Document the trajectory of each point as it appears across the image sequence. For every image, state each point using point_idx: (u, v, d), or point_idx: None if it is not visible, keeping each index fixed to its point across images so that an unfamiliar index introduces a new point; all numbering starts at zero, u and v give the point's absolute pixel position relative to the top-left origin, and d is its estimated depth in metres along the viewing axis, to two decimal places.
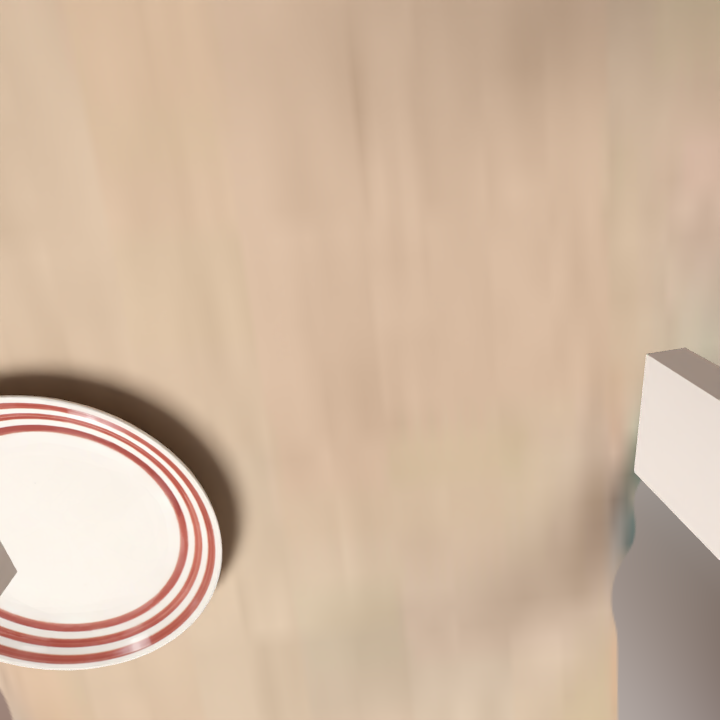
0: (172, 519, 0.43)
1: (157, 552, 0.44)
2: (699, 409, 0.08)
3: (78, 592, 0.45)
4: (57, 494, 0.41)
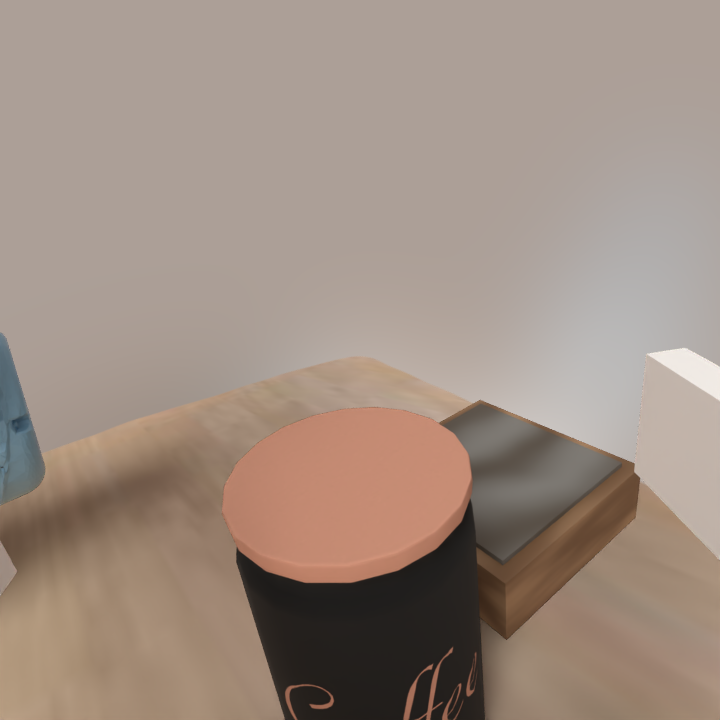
0: None
1: None
2: (699, 410, 0.08)
3: None
4: None
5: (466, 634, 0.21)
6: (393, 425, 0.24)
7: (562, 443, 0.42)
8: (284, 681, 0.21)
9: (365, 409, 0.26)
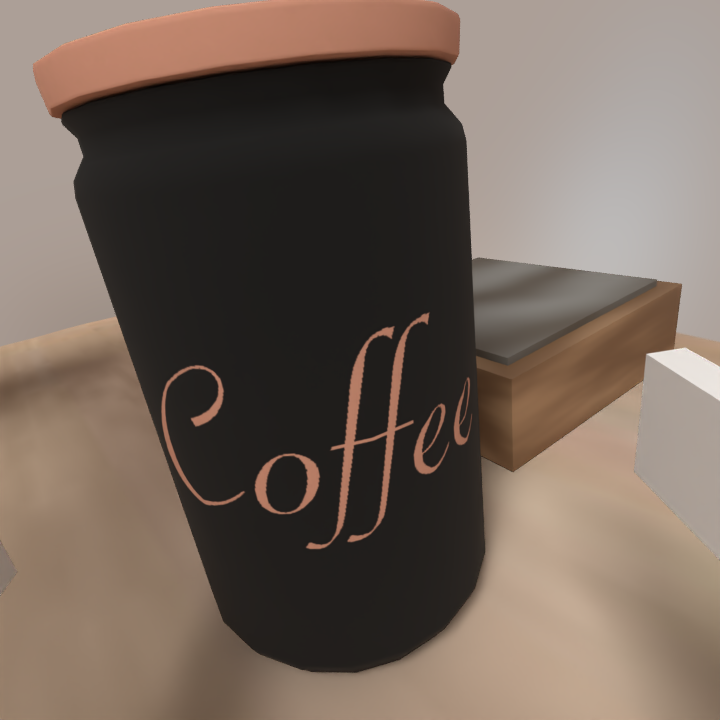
0: None
1: None
2: (699, 409, 0.08)
3: None
4: None
5: (452, 312, 0.13)
6: None
7: (579, 273, 0.34)
8: (156, 397, 0.13)
9: None
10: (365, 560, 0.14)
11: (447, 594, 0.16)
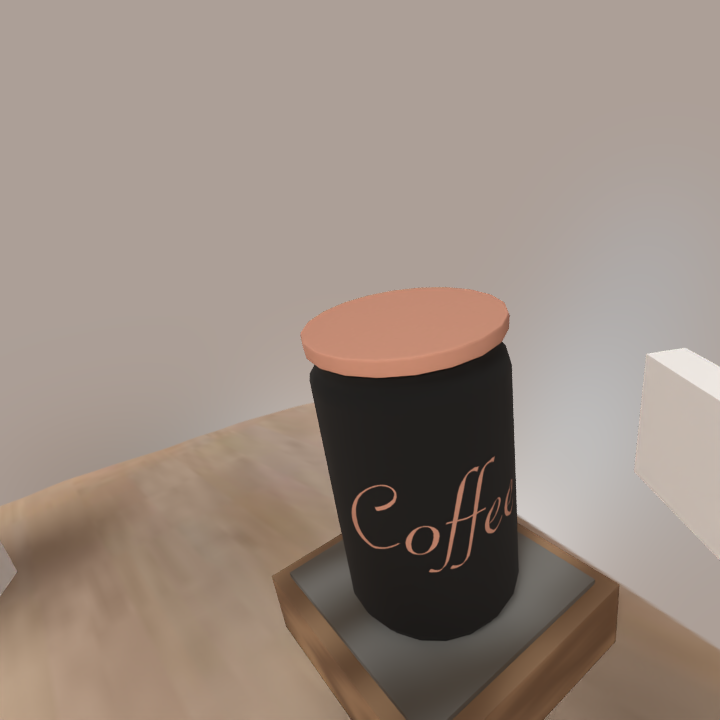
0: None
1: None
2: (699, 410, 0.08)
3: None
4: None
5: (505, 452, 0.25)
6: (438, 294, 0.28)
7: (524, 545, 0.34)
8: (352, 493, 0.26)
9: (412, 289, 0.30)
10: (459, 578, 0.26)
11: (499, 596, 0.28)
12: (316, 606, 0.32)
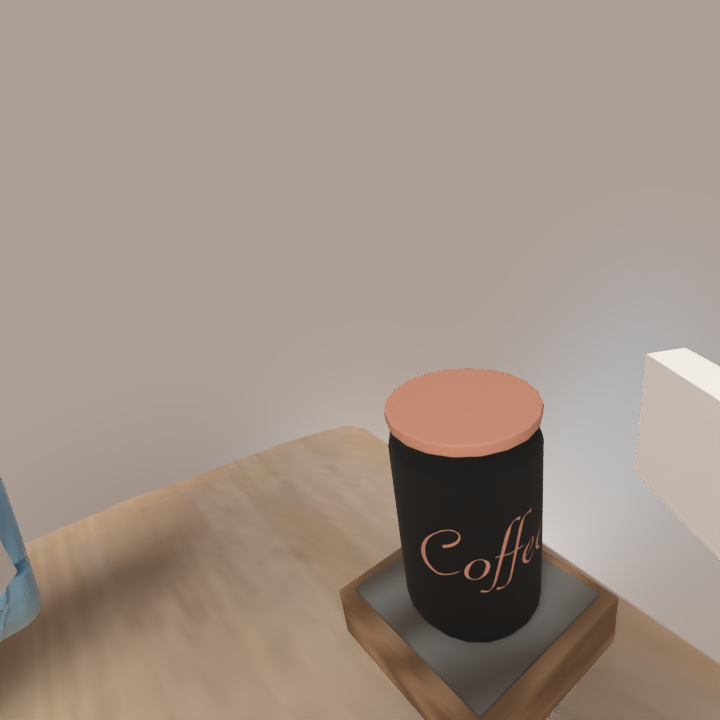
0: None
1: None
2: (699, 409, 0.08)
3: None
4: None
5: (537, 503, 0.34)
6: (484, 378, 0.37)
7: (543, 565, 0.43)
8: (423, 534, 0.34)
9: (461, 369, 0.39)
10: (501, 596, 0.35)
11: (529, 609, 0.37)
12: (380, 615, 0.41)
